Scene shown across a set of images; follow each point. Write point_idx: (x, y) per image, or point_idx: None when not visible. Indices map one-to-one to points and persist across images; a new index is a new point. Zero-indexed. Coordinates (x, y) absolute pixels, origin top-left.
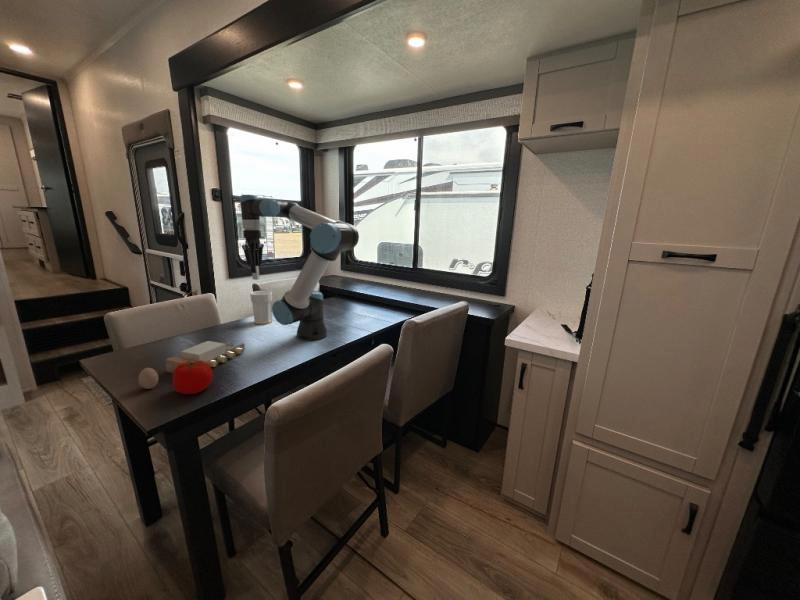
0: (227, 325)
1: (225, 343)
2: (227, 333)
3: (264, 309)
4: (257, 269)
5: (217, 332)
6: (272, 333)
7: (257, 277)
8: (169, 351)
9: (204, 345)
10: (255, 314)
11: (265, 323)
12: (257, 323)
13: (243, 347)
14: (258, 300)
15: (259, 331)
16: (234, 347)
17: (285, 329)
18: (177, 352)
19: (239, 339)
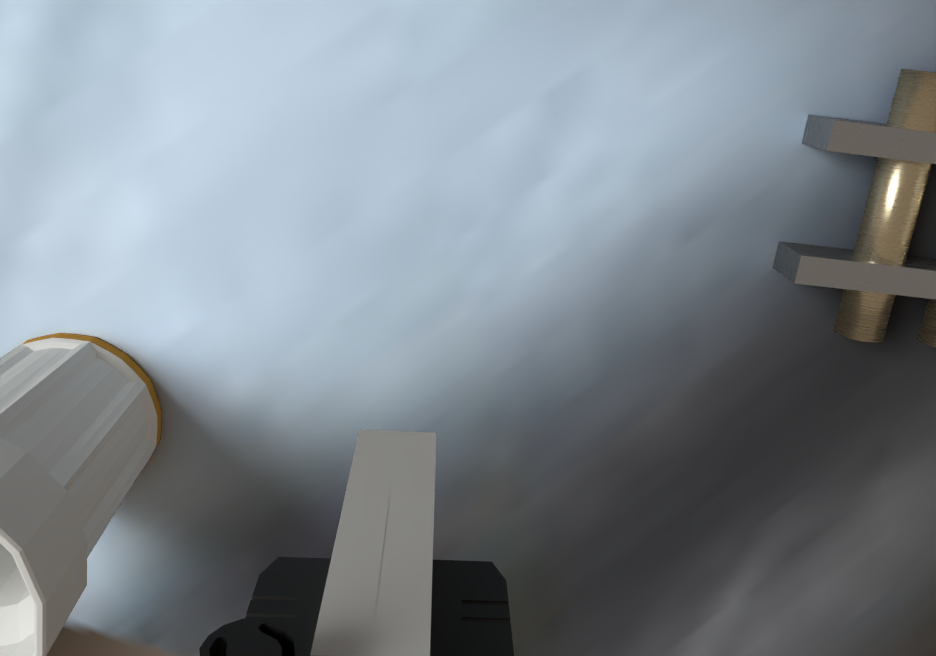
0: None
1: (849, 287)
2: (467, 514)
3: (55, 424)
4: (390, 578)
5: None
6: (347, 125)
7: (426, 458)
8: (902, 624)
9: None
10: (125, 489)
11: (122, 357)
12: (157, 428)
13: (834, 118)
14: (63, 523)
15: (334, 285)
16: (933, 146)
17: (188, 60)
18: (914, 565)
19: (578, 325)
